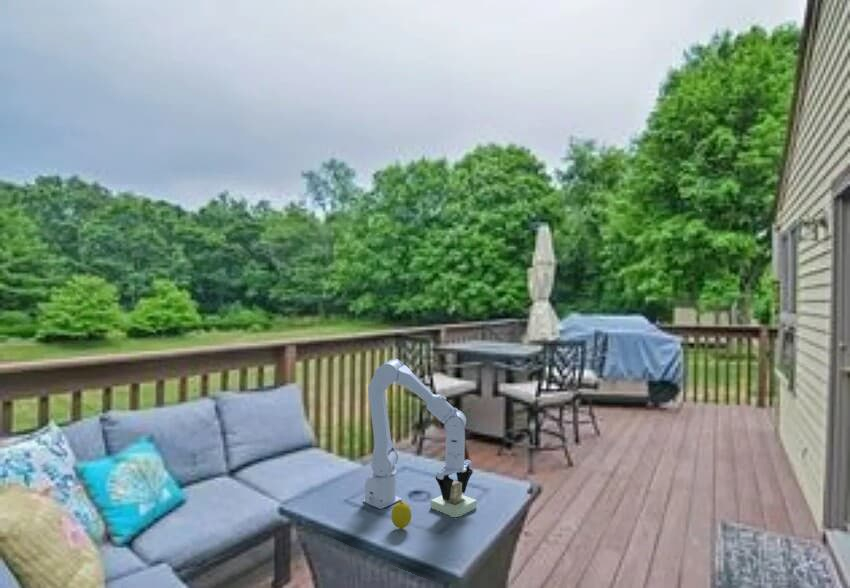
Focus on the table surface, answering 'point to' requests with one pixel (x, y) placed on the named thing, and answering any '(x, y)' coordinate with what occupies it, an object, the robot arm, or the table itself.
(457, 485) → the peg
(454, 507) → the socket block
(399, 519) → the lemon
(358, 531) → the table surface
